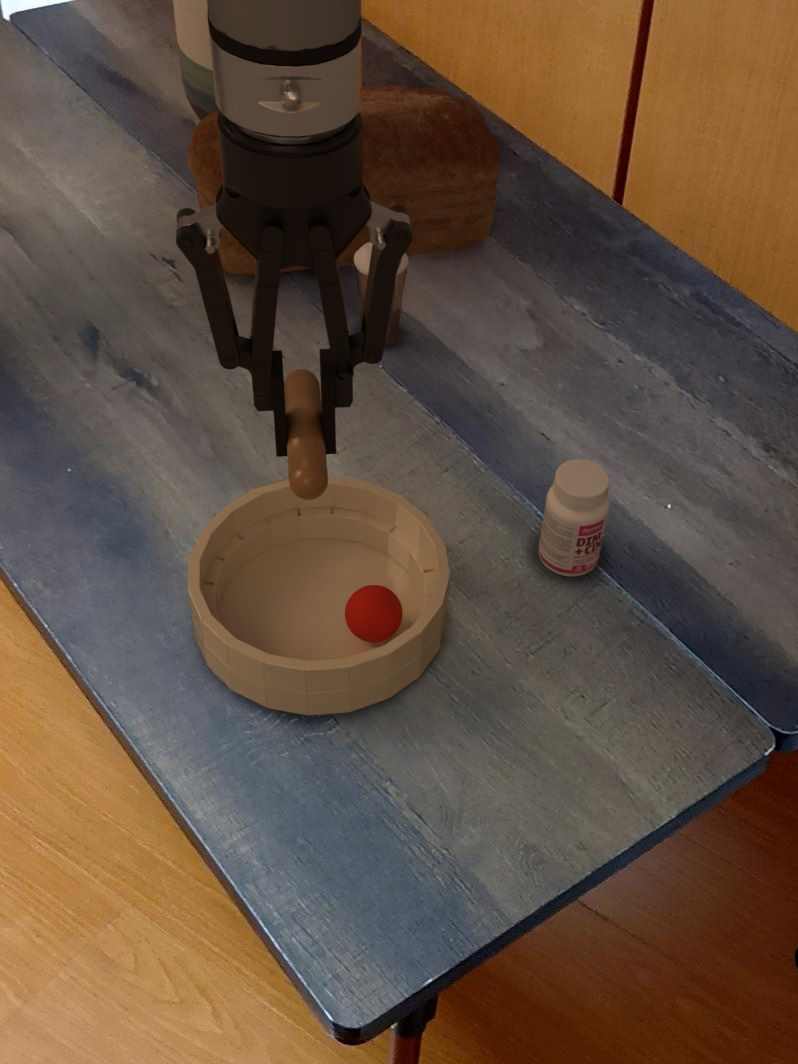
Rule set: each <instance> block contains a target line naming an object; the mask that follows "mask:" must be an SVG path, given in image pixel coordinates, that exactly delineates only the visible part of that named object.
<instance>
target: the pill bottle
mask: <svg viewBox="0 0 798 1064" xmlns="http://www.w3.org/2000/svg"><path fill="white" fill-rule="evenodd" d="M553 478H554V479H553V482H552V485H551V486H550V488H549V489H548V491H547V493H546V497H545V498H546V499H545V503H544V505H545V506H544V510H543V511H544V512H543V519H542V525H541V530H540V536H539V542H538V552H537V553H538V556H539V557H538V558H539V559H540V561H541V563H542V564H543V565H544V566H545V567H546V568H548V570H550V571H551V572H552V573H555V574H557V575H560V576H563V577H579V576H584V575H586V574H588V573H590V572H591V571H593V569H594V568H595V567H596V566H597V565H598V562H599V560H600V556H601V551H602V546H603V541H604V538H605V532H606V528H607V523H608V517H609V513H610V507H611V503H610V497H609V495H608V494H609V491H610V490H609V489H610V482H611V481H610V475H609V473H608V472H607V470H606V469H605V468H604V467H603V466H601V465H600V464H599V463H597V462H595V461H592V460H589V459H583V458H575V459H570V460H567V461H565V462H563V463H561V464H560V465H559V466H558V467H557V469H556V471H555V473H554V477H553Z"/></svg>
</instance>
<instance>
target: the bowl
mask: <svg viewBox="0 0 798 1064" xmlns="http://www.w3.org/2000/svg"><path fill="white" fill-rule="evenodd" d="M193 545H194V546H193V548H192V550H191V552H190V554H189V557H188V560H187V595H188V601H189V607H190V612H191V613H190V614H191V621H192V627H193V634H194V635H193V636H194V638H195V640H196V643H197V645H198V648H199V650H200V652H201V655H202V657H203V659H204V661H205V664H206V665H207V667H208V668H209V669H210V670H211V672H213V673H214V674H215V675H216V676H217V678H219V679H220V681H222V682H223V683H224V684H225V685H226V686H227V687H228V688H229V689H230V690H231V691H233V692H235V693H236V694H238V695H240V696H243V697H244V698H246V699H249V700H251V701H253V702H254V703H257V704H259V705H260V706H262V707H264V708H267V709H270V710H275V711H281V712H286V713H291V714H297V715H303V716H320V715H332V714H345V713H350V712H354V711H358V710H361V709H363V708H366V707H369V706H372V705H375V704H378V703H380V702H383V701H386V700H388V699H390V698H392V697H393V696H395V695H396V694H398V693H399V692H400V691H402V690H403V689H405V688H406V687H407V686H409V685H410V684H412V683H413V682H414V681H416V680H417V679H419V677H420V676H421V675H422V674H423V672H424V671H425V670H426V668H427V667H428V666H429V664H430V663H431V661H432V660H433V658H434V657H435V656H436V654H437V653H438V652H439V650H440V648H441V646H442V645H441V644H442V641H443V637H444V633H445V629H446V625H447V622H448V610H449V600H450V599H449V598H450V584H451V570H450V564H449V557H448V550H447V545H446V543H445V542H444V540H443V537H442V536H441V535H440V533H439V532H438V529H437V528H436V527H435V525H434V524H433V522H432V520H431V519H430V517H429V516H428V515H426V514H425V513H424V512H423V511H421V510H420V509H419V508H418V507H417V506H415V505H414V504H413V503H411V502H410V501H409V500H408V499H407V498H405V496H403V495H400V494H398V493H396V492H393V491H391V490H389V489H387V488H385V487H382V486H380V485H378V484H375V483H373V482H369V481H364V480H358V479H354V478H353V479H352V478H347V477H342V476H337V475H336V476H335V475H334V476H333V475H328V485H327V488H326V490H325V492H324V493H323V494H322V495H321V496H320V497H318V498H316V499H313V500H304V499H301V498H299V497H298V496H296V495H295V494H294V493H293V491H292V490H291V488H290V484H289V478H287V479H285V480H281V481H277V482H273V483H270V484H265V485H262V486H259V487H256V488H253V490H250V491H249V492H247V493H245V494H243V495H241V496H240V497H238V498H236V499H234V500H232V501H231V502H229V503H226V505H224V506H223V507H222V508H221V509H220V510H219V511H218V512H217V513H216V515H214V516H213V517H212V518H211V519H210V520H209V521H208V523H207V524H205V526H204V527H202V528H201V530H200V532H199V534H198V536H197V538H196V541H195V543H194V544H193ZM368 585H380V586H384V587H386V588H388V589H390V590H391V591H392V592H393V593H395V595H396V596H397V597H398V599H399V601H400V603H401V606H402V612H403V615H402V621H401V624H400V626H399V628H398V630H397V631H396V632H395V633H394V634H393V635H392V636H391V637H390V638H388V639H386V640H384V641H380V642H366V641H363V640H361V639H359V638H357V637H356V636H355V635H354V634H353V633H352V632H351V631H350V630H349V628H348V626H347V623H346V620H345V607H346V604H347V602H348V600H349V598H350V597H351V595H352V594H353V593H354V592H355V591H357V590H358V589H360V588H362V587H364V586H368Z"/></svg>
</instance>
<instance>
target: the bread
mask: <svg viewBox="0 0 798 1064" xmlns="http://www.w3.org/2000/svg"><path fill="white" fill-rule="evenodd" d="M219 111H220V110H219ZM219 111H216V112H214V113H211V114H209V115H208V116H206V117H205V118H204V119H202V120H199V122H198V123H197V125H196V126H195V128H194V130H193V133H192V135H191V136H190V140H189V144H188V157H187V158H188V159H187V160H188V164H189V168H190V171H191V174H192V176H193V179H194V182H195V186H196V192H197V198H198V199H197V200H198V206H199V211H201V210H203V209H205V208H207V207H209V206H212V205H214V204H216V195H217V192H218V190H219V189H220V187H221V185H222V181H223V179H222V168H221V157H220V146H219V135H218V124H217V117H218V113H219ZM359 113H360V115H361V118H362V164H363V183H364V185H365V187H366V188H367V190H368V192H369V194H370V198H371V202H374V203H376V204H378V205H381V206H383V207H385V208H388V209H390V208H391V207H393V206H395V205H402V206H404V207H406V208H407V210H408V213H409V218H410V223H411V229H412V235H413V240H412V242H411V244H410V245H409V247H408V249H407V250H406V252H405V253H406V255H407V257H408V256H416V255H421V254H432V253H434V254H435V253H446V252H448V253H449V252H453V251H456V250H457V251H458V250H461V249H464V248H468V247H471V246H474V245H476V244H479V243H481V242H483V241H484V240H486V239H487V238H488V237H489V233H490V229H491V226H492V222H493V216H494V213H495V204H496V195H497V194H496V192H497V183H498V178H499V173H500V164H501V150H500V146H499V144H498V141H497V139H496V137H495V136H494V133H493V132H492V129H491V128H490V126H489V124H488V123H487V120H486V119H485V116H484V115H483V112H482V111H481V110H480V109H479V108H477V107H476V105H474V104H473V103H472V102H471V101H469V100H467V99H465V98H463V97H462V96H461V97H460V96H458V95H455V94H454V93H450V92H447V91H444V90H441V89H438V88H436V87H426V88H425V87H424V88H416V87H415V88H414V87H410V86H409V87H408V86H404V85H402V86H401V85H362V107H361V109H360V111H359ZM220 231H221V245H220V247H219V248H218V252H219V256H220V260H221V264H222V268H223V270H224V271H226V272H228V273H229V274H230V275H236V276H237V275H238V276H255V266H256V259H255V258H254V257H253V256H252V255H251V254H250V253H249V252H248V251H247V250H246V249H245V248H244V247H243V246H242V245H241V244H240V243H239V242H238V241H237V240H236V238H235V237H234V236H233V235H232V234H231V233H230V232H229V231H228V230H227V229H226V228H225V227H223V228H222V229H221V230H220ZM368 242H370V237H369V227H368V226H367V225H365V226H364V227H363V228H362V230H361V231H360V232H359V233H358V234H357V236H356V237H355V238H354V239H353V240H352V241H351V243H350V244H349V245H348V246H347V247H346V249H345V250H344V251H343V252H342V253H341V255H340V256H339V257H338V258H337V264H338V267H339V266H353V265H354V266H355V264H354V255H355V253H356V252H357V251H358V250H359V249H360V248H361V247H362V246H363V245H364V244H366V243H368ZM309 269H311V268H307V267H302V266H294V267H290V268H286V269H281V272H280V274H282V273H283V274H284V273H288V272H296V271H303V270H309Z"/></svg>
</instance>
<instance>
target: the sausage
mask: <svg viewBox="0 0 798 1064" xmlns="http://www.w3.org/2000/svg"><path fill="white" fill-rule="evenodd" d="M284 391H285V408H286V425H287V442H288V443H287V455H288V456H287V469H288V470H287V471H288V479H289V484H290V488H291V490H292V491H293V493H294V494H295V495H296V496H298V497H299V498H301V499H304V500H313V499H316V498H318V497H320V496H321V495H322V494H323V493H324V492H325V490H326V488H327V485H328V476H329V474H328V463H327V454H326V451H325V442H324V434H323V423H322V408H321V383H320V381H319V379H318V377H317V376H316V375H315V374H314V373H313V372H312V371H310V370H308V369H304V368H299V369H294V370H292V371H291V372H289V373H288V374H287V375H286V377H284Z"/></svg>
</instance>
